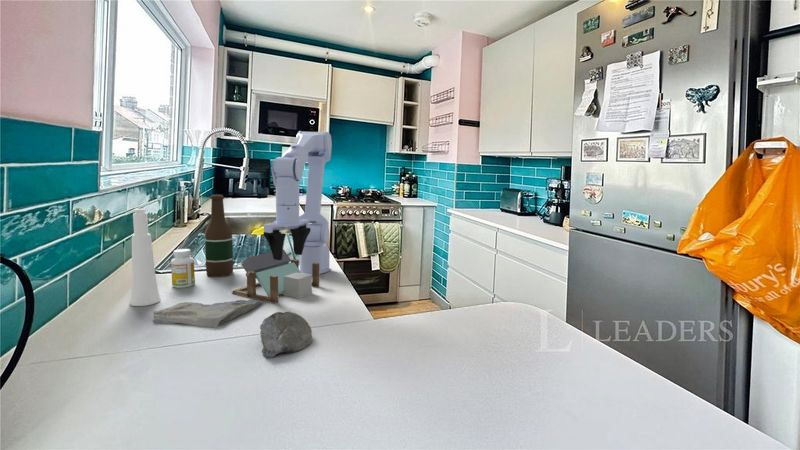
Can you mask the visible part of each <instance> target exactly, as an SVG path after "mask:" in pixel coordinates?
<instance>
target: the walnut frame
mask: <svg viewBox="0 0 800 450" xmlns="http://www.w3.org/2000/svg"><path fill="white" fill-rule="evenodd" d="M293 262H294V263H295V264H296V266H297V267H298V269H299V270H300V258H297V259H291V261H290V263H293ZM245 277H246V286H243V287H240V288H235V289H234V290H232V291H231V292H232V294H233V295H237V296H240V297H245V298H251V299H253V300H257V301H262V302H263V301H264V302H268V303H271V304H277V303H279V294H278V276H275V275H272V276H270V297H268V295H262V294H258V293H257V288H259V287H262V286H261V285H260V283H259V282H257V279H256V272H253V271H247V272H245ZM312 287H314V288H315V287H316V288H318V287H320V274H319V263H312Z"/></svg>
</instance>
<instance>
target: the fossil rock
mask: <svg viewBox="0 0 800 450" xmlns="http://www.w3.org/2000/svg"><path fill="white" fill-rule="evenodd" d="M262 302H263V300H258V299H247V300H246V299H245V300H244V299H240V300H239V299H237V300H232V301H225V302H216V303H212V304H210V303H209V304H204V303H200V302H192V301H190V302H188V301H186V302H185V301H183V302H180V303H177V304H174V305H171V306H168V307H166V308H162V309H161V310H157V311H153V315H152V316H153V320H154V322H155V323H159V324H160V323H161V324H177V323H178V324H184V325H189V326H197V327H212V328H213V327H215V328H216V327H219V326H221V325H222V324H225V323H227V322H230V321H232V320H233V319H235V318H236V317H238V316H240V315H243V314H245V313H248V312H249V311H251V310H253V309H254V308H257V306H260V305H261V304H262Z"/></svg>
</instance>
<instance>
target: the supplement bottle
mask: <svg viewBox="0 0 800 450" xmlns="http://www.w3.org/2000/svg"><path fill="white" fill-rule="evenodd" d="M191 252H192V251H191V249H190V248H179V249H178V248H177V249H175V250H173V257H174V258H171V260H170V269H171V284H172V287H173V288H176V289H181V288H182V289H183V288H189V287H192V286H194V285H195V284H196V282H195V281H196V278H195V277H196V276H195V261H194V258H193V257H191V254H192V253H191Z"/></svg>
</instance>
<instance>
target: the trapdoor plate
mask: <svg viewBox="0 0 800 450" xmlns="http://www.w3.org/2000/svg"><path fill="white" fill-rule="evenodd" d="M291 260H292V259H291V258H290V256H289V255H288V252H286V251H285V249H284V248H283V253H282V260H274V258H273V255H272V251H270V252H265V253H261V254H256V255H251V256H248V257H246V258H245V259H244V260H243V262H242V263H241V266H242V268H243V269H244V271H245V273H247V271H253V272H256V281H258V282H257V283H260V285H261V286H260V287H262V289H263V290H264V292H265V294H266V296H267V297H270V276H272V275H275V276H278V295H279V294H282V293H284V276H286V275H290V274H293V273H296V272H299V273H301V272H300V268H299V269H298V267H297V266H296V264H295V263H294V262H293V263H291Z"/></svg>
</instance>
